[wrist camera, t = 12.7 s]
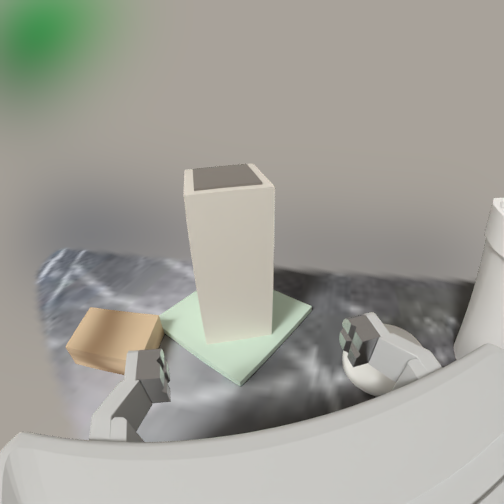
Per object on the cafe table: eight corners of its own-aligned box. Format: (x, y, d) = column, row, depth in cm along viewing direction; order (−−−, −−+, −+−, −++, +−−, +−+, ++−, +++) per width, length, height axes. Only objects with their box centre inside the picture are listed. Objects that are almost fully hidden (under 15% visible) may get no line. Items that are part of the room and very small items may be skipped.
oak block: (165, 336, 24) (159, 315, 22) (148, 382, 19) (139, 362, 18) (99, 326, 24) (90, 307, 23) (77, 365, 20) (65, 346, 19)
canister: (271, 334, 23) (274, 184, 16) (206, 344, 22) (183, 193, 16) (255, 289, 28) (253, 161, 21) (201, 297, 27) (184, 168, 21)
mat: (311, 311, 26) (311, 306, 25) (240, 386, 19) (239, 382, 19) (228, 274, 31) (227, 269, 31) (154, 324, 24) (152, 319, 24)
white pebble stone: (428, 350, 21) (433, 340, 20) (407, 412, 16) (413, 404, 15) (360, 323, 24) (363, 313, 24) (325, 377, 20) (328, 368, 19)
